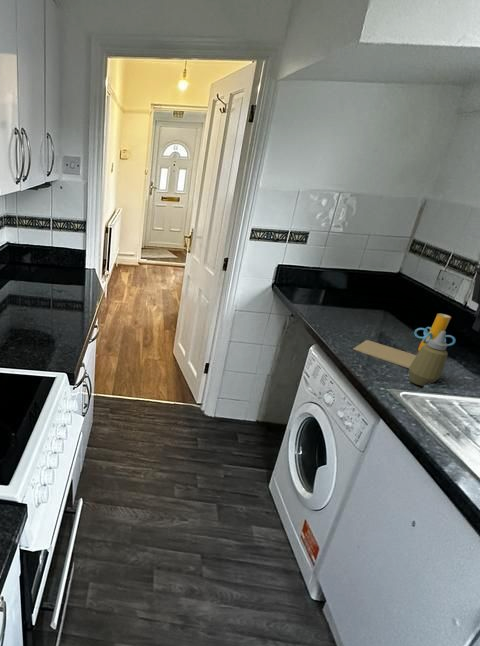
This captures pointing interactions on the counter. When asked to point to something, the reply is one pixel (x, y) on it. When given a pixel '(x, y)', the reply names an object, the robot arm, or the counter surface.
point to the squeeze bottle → (429, 361)
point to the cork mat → (386, 353)
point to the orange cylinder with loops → (435, 330)
